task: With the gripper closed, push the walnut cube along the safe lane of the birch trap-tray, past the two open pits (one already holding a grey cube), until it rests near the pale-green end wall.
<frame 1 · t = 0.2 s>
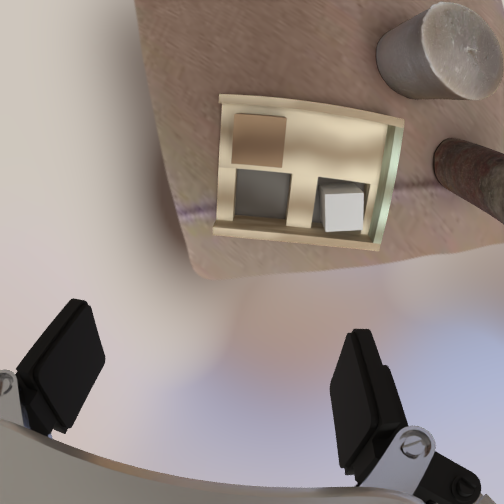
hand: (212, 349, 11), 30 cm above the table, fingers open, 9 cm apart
walnut block: (260, 136, 33), point 2 cm above the table, touching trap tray
pillar candle: (408, 62, 30), on the table
brown wooden cylinder: (453, 163, 35), on the table
trapped grey block: (337, 200, 38), resting on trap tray
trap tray: (303, 166, 37), on the table
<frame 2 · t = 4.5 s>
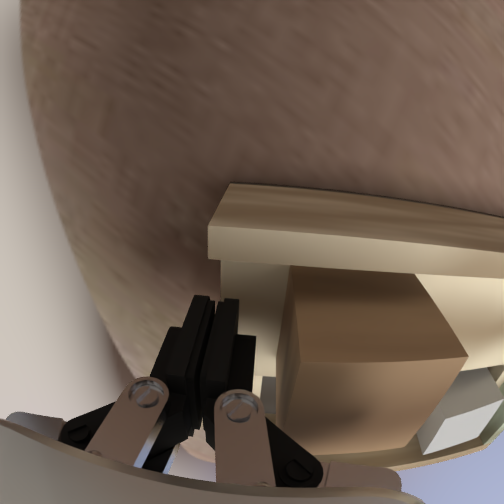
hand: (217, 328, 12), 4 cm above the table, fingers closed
walnut block: (341, 318, 13), point 3 cm above the table, touching gripper
trapped grey block: (442, 379, 17), resting on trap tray
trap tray: (402, 339, 16), on the table
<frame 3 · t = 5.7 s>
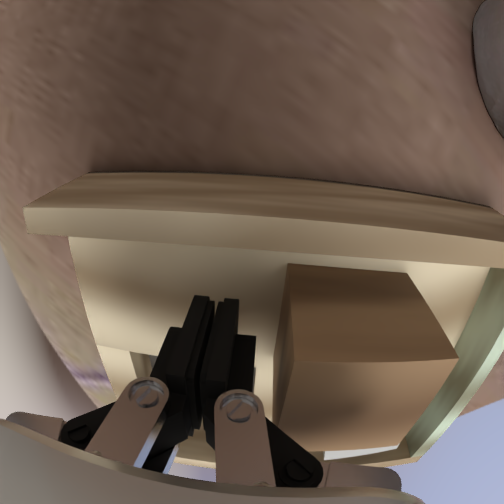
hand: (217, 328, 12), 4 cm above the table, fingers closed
walnut block: (337, 319, 13), point 3 cm above the table, touching gripper
trapped grey block: (354, 379, 18), resting on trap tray
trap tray: (287, 328, 16), on the table
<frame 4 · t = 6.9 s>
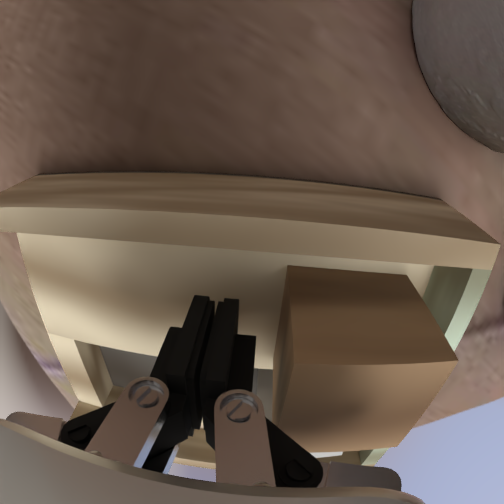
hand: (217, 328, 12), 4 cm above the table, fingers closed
walnut block: (337, 320, 13), point 2 cm above the table, touching gripper, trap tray
pillar candle: (486, 53, 9), on the table
trapped grey block: (299, 379, 18), resting on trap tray
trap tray: (221, 324, 16), on the table
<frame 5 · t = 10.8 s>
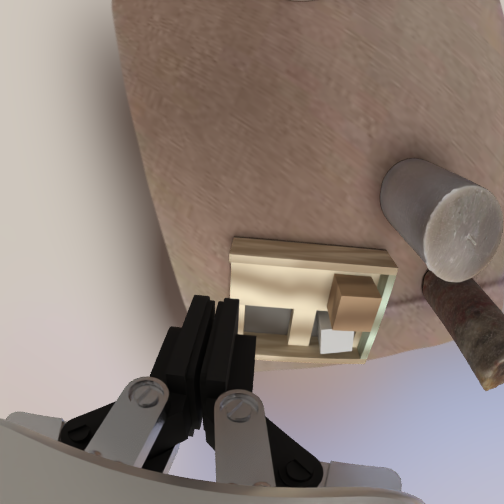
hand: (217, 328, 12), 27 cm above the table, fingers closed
walnut block: (348, 291, 39), point 2 cm above the table, touching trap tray
pillar candle: (411, 193, 36), on the table
brown wooden cylinder: (441, 279, 41), on the table
trapped grey block: (332, 320, 44), resting on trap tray
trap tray: (304, 296, 43), on the table
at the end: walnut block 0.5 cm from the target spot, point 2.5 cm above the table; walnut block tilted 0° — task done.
